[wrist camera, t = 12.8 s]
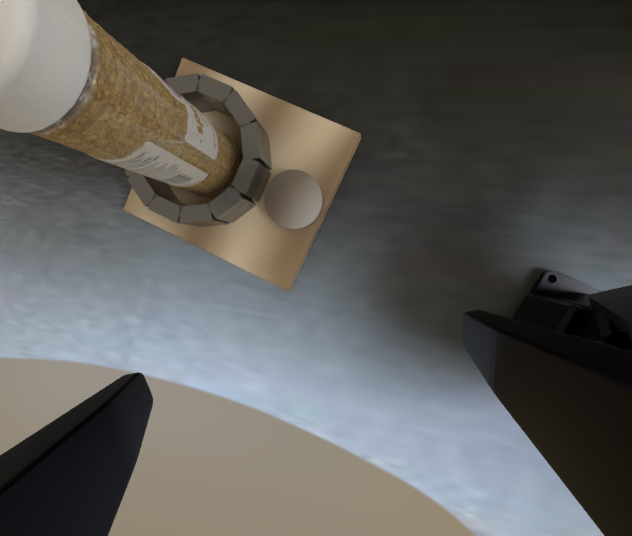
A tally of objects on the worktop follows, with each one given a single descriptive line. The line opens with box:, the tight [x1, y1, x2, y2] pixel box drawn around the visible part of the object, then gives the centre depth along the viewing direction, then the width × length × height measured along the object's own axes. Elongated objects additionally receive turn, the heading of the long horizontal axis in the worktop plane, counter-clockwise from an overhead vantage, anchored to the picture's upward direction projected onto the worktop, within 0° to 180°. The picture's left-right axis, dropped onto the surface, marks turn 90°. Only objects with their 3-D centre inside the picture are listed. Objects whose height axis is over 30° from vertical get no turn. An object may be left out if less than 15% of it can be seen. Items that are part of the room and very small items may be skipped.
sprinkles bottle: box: [0, 0, 240, 197], centre depth 14 cm, size 5×5×14 cm
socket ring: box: [125, 73, 272, 227], centre depth 19 cm, size 8×8×2 cm
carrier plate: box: [123, 58, 361, 291], centre depth 20 cm, size 13×11×2 cm
